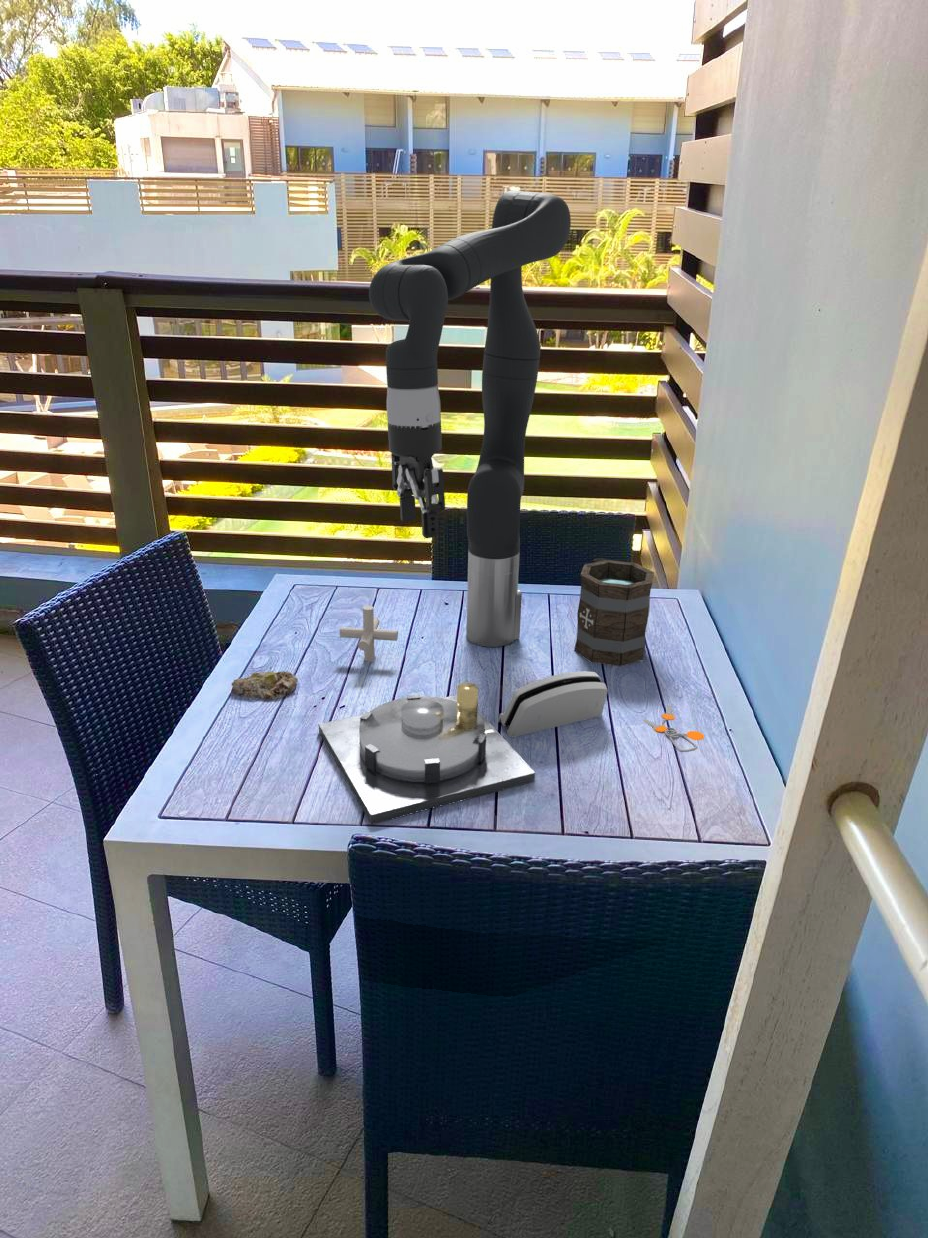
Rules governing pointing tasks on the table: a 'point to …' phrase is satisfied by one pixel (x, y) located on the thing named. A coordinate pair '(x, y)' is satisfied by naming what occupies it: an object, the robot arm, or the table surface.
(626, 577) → the mug
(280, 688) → the mineral rock
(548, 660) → the table surface
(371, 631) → the pipe connector
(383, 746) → the silver disc
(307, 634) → the table surface
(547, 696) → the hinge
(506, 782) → the base plate
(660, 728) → the key chain
